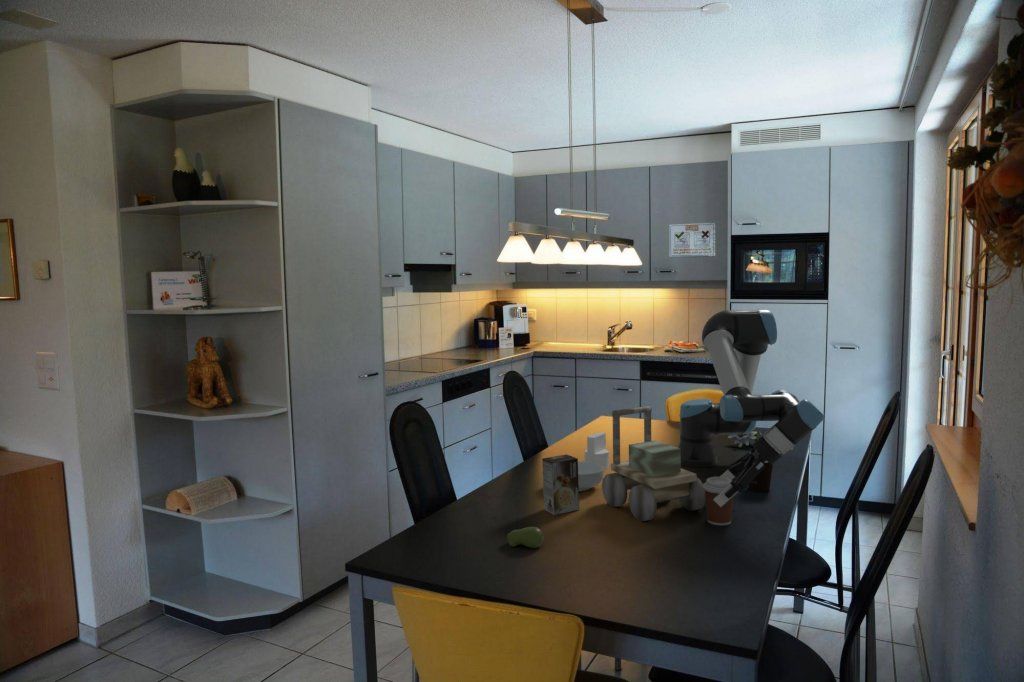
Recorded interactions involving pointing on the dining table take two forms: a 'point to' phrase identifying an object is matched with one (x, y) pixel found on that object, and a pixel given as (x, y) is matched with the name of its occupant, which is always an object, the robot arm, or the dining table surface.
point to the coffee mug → (762, 479)
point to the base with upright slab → (597, 450)
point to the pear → (526, 537)
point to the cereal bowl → (589, 475)
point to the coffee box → (560, 484)
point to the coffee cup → (714, 511)
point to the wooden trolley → (649, 473)
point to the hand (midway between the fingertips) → (715, 495)
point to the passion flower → (745, 438)
